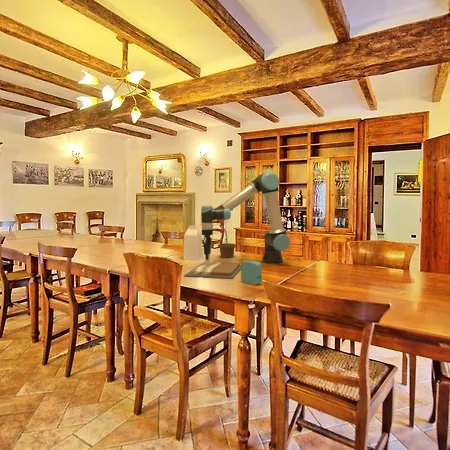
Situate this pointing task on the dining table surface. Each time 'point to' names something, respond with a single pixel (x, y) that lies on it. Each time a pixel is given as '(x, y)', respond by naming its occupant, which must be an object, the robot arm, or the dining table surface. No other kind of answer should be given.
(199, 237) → the milk
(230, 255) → the flowerpot
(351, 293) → the dining table surface
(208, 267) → the plank
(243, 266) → the data package
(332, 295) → the dining table surface
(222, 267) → the floor frame
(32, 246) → the dining table surface
